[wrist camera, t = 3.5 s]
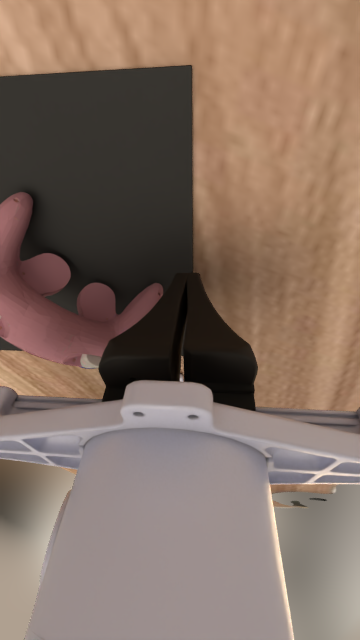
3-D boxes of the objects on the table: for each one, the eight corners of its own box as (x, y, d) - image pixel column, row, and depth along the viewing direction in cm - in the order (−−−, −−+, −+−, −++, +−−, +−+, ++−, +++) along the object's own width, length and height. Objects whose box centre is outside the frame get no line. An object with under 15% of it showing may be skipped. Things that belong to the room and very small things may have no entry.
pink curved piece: (15, 219, 15) (-64, 315, 13) (13, 173, 12) (-100, 296, 9) (145, 301, 20) (104, 385, 17) (175, 287, 16) (128, 393, 13)
